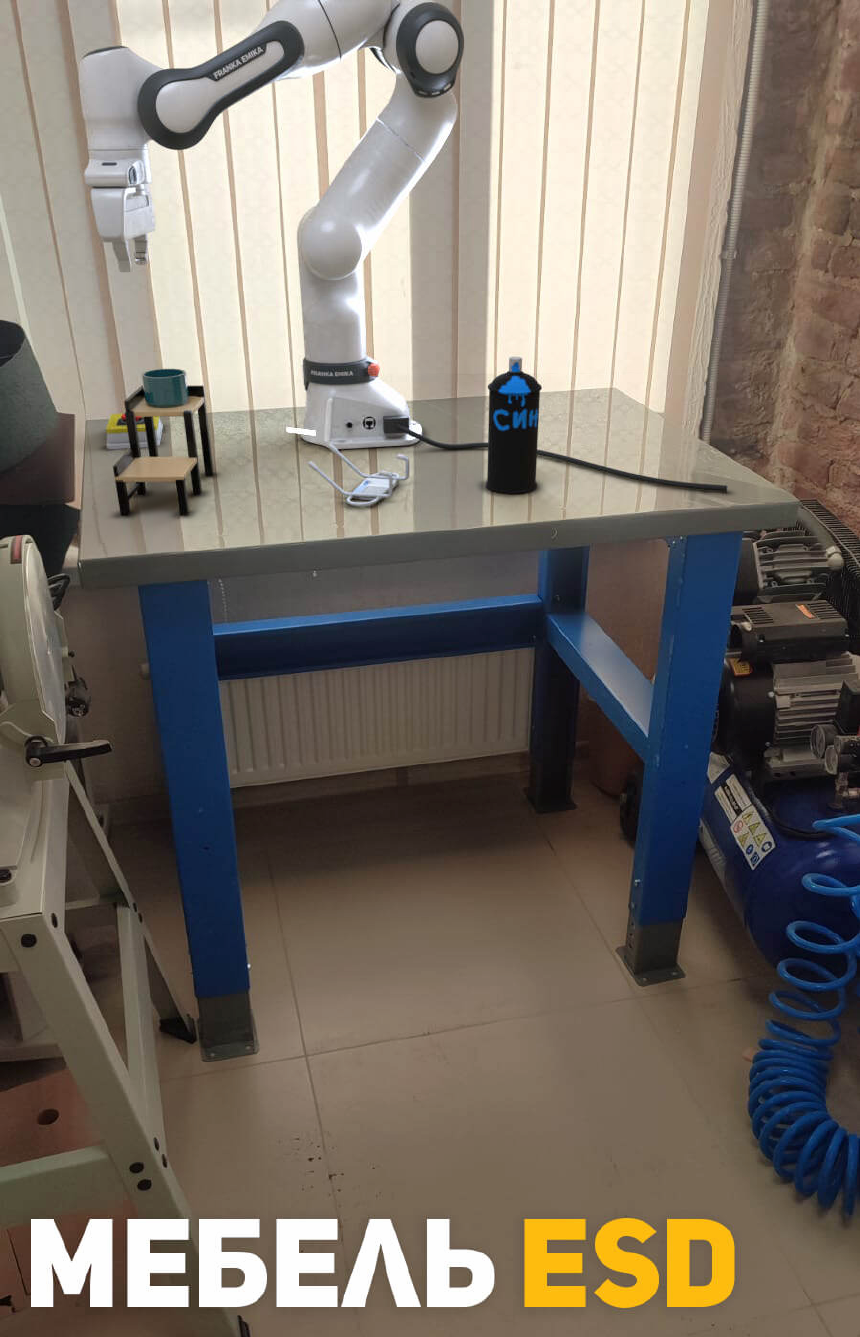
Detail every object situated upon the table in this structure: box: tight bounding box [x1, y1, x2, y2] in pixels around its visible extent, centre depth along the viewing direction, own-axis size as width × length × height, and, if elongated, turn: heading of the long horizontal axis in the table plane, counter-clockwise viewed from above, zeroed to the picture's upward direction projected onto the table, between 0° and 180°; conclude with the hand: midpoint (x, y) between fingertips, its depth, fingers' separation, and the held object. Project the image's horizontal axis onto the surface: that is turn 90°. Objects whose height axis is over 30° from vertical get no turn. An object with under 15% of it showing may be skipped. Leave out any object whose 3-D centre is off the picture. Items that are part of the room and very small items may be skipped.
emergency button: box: [105, 413, 164, 450], centre depth 186 cm, size 9×4×15 cm
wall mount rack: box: [307, 444, 410, 507], centre depth 157 cm, size 16×14×6 cm
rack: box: [112, 385, 215, 517], centre depth 154 cm, size 10×20×15 cm, turn 0°
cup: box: [140, 368, 189, 408], centre depth 155 cm, size 7×7×5 cm
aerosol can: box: [485, 356, 543, 495], centre depth 155 cm, size 8×8×20 cm
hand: (134, 268), depth 159 cm, fingers open, 8 cm apart
